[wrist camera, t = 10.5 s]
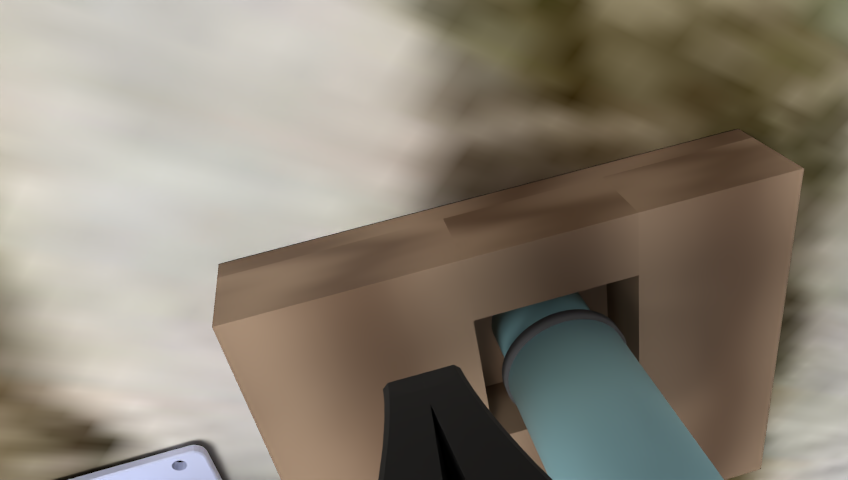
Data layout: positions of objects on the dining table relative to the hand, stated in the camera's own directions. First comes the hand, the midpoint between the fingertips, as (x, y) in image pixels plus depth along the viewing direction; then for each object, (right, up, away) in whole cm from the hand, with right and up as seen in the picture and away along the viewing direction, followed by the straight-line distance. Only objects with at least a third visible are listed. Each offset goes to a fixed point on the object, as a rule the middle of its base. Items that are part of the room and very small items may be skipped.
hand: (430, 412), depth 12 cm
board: (+3, -1, +14) cm, 14 cm away
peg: (+4, 0, +12) cm, 13 cm away
